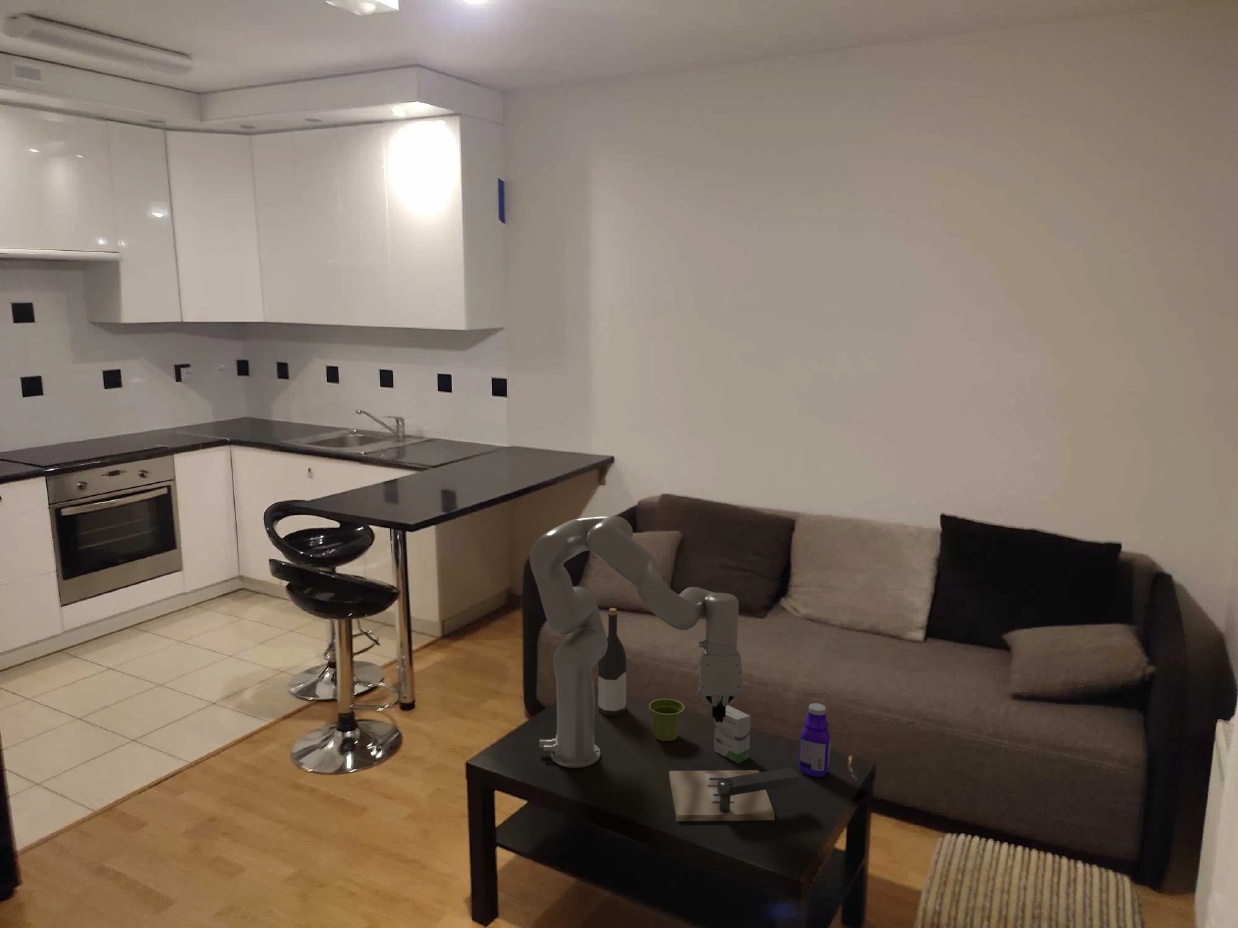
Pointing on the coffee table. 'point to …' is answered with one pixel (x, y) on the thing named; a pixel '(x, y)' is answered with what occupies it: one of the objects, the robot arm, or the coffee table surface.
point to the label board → (716, 798)
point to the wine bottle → (612, 672)
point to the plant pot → (666, 718)
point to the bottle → (815, 742)
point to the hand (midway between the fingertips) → (718, 719)
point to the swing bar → (757, 782)
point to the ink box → (733, 735)
